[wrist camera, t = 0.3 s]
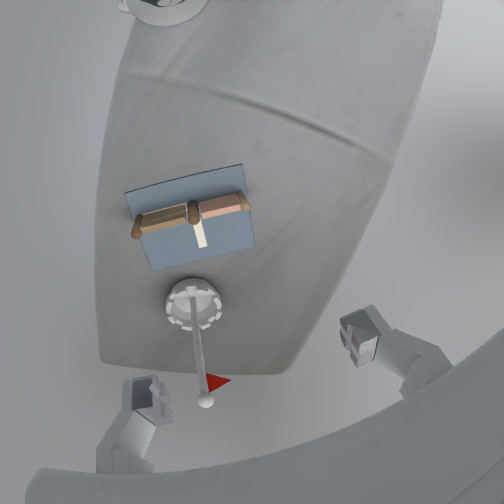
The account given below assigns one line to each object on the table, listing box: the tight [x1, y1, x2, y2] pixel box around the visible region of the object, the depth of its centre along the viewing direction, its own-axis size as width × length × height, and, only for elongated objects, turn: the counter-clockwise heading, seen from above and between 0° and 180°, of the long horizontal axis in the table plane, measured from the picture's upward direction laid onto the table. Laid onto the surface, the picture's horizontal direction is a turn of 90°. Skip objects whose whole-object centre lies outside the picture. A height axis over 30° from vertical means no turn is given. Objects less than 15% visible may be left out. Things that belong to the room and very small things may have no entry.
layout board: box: [125, 164, 255, 271], centre depth 57 cm, size 19×24×1 cm
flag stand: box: [166, 278, 231, 408], centre depth 55 cm, size 13×13×30 cm
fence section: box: [200, 191, 251, 219], centre depth 52 cm, size 2×9×6 cm, turn 97°
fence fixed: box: [131, 200, 200, 239], centre depth 51 cm, size 2×13×7 cm, turn 97°
